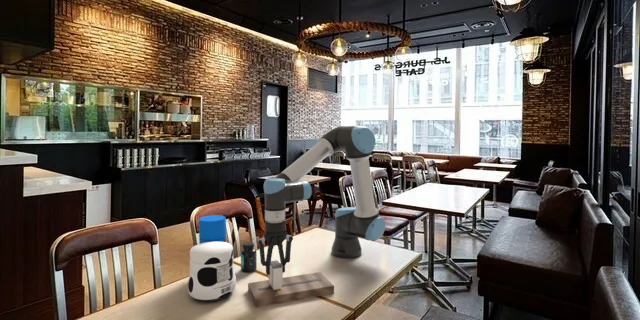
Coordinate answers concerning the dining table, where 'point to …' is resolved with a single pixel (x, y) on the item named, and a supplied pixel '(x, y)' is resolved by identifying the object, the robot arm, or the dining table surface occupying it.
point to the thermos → (212, 229)
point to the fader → (276, 275)
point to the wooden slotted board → (290, 289)
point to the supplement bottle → (248, 258)
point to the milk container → (211, 271)
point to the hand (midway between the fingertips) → (275, 281)
